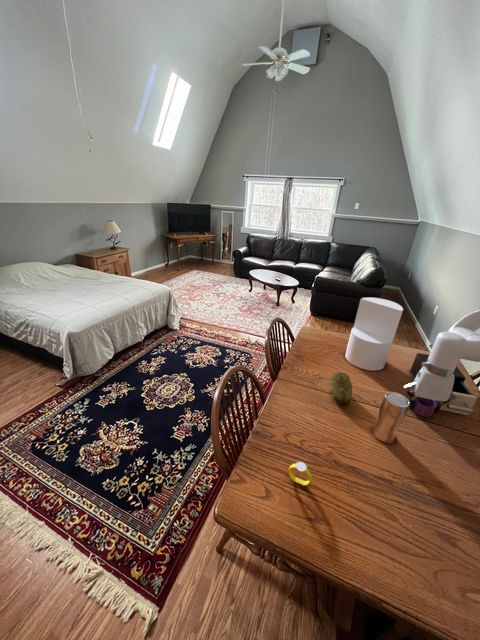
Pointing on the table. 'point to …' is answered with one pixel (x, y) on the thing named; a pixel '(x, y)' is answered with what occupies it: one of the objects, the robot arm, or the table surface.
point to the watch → (300, 468)
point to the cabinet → (423, 358)
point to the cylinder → (373, 333)
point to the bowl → (424, 406)
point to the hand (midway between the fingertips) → (422, 408)
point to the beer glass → (390, 416)
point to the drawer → (460, 399)
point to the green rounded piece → (341, 388)
